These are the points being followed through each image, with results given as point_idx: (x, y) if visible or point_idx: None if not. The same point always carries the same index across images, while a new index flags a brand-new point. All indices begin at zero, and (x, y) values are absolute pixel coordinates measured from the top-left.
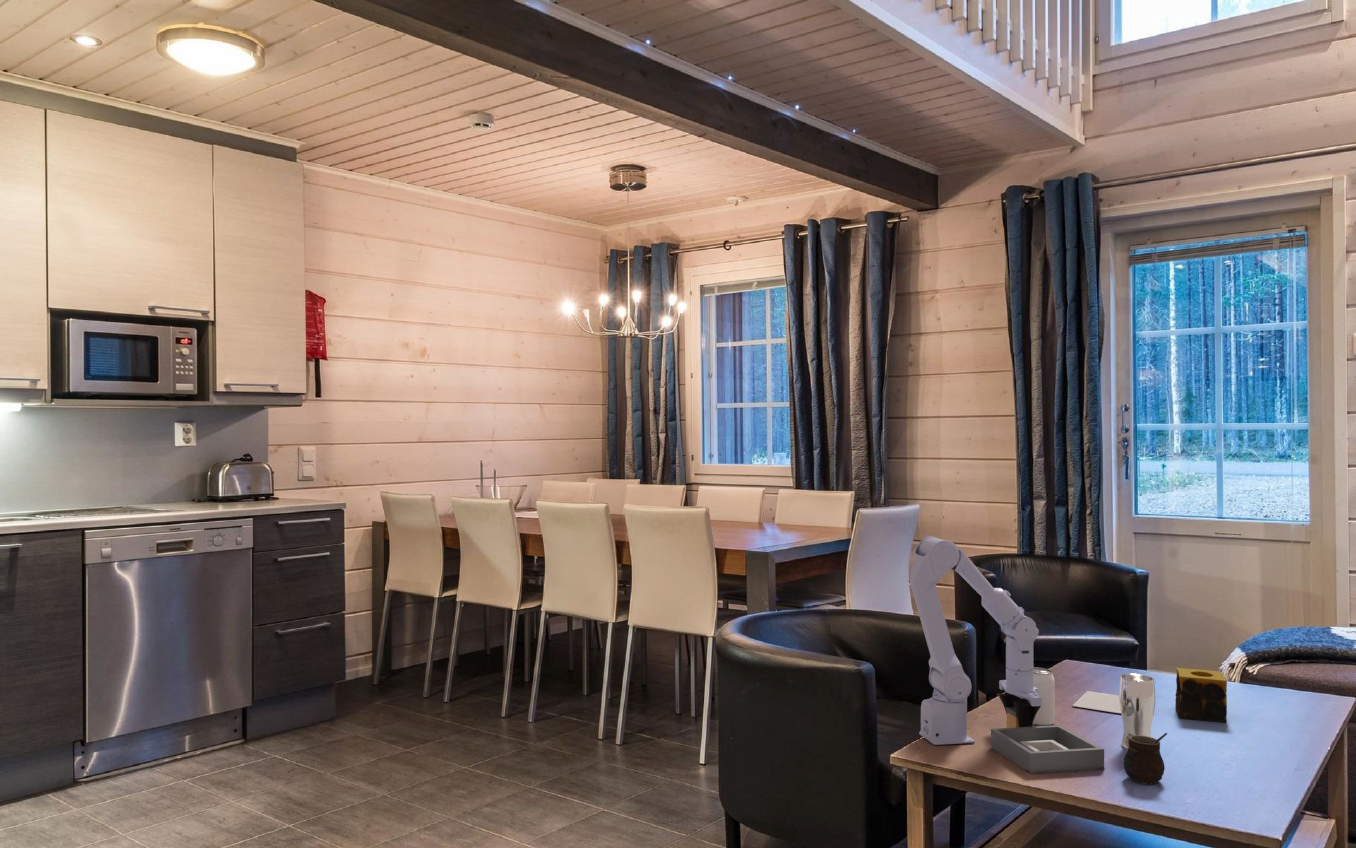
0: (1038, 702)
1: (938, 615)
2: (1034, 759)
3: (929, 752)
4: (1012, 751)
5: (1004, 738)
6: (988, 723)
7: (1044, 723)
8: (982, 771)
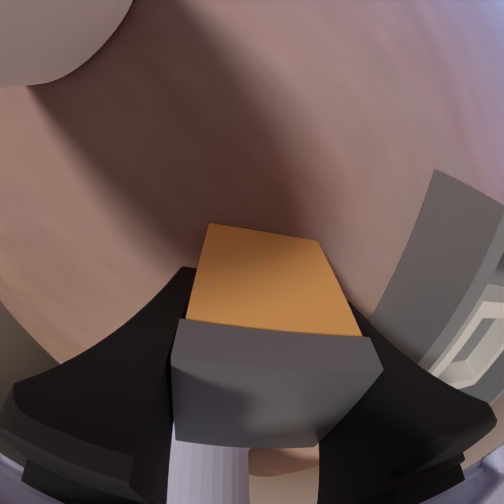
0: (502, 467)
1: None
2: None
3: (270, 465)
4: None
5: None
6: (40, 276)
7: (126, 3)
8: None
